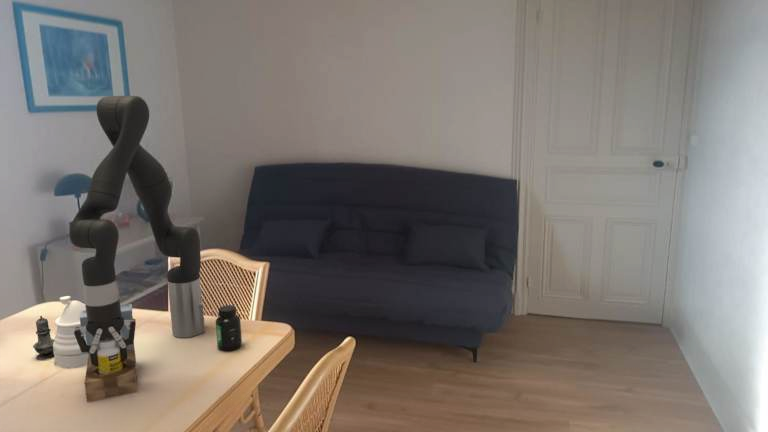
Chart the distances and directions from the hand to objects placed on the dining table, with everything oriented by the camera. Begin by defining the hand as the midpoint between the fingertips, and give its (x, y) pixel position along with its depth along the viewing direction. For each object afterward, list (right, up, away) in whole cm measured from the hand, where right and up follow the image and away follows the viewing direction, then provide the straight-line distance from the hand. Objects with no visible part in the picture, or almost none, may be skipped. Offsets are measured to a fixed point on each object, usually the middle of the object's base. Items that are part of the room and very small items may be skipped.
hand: (110, 362), depth 141 cm
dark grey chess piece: (-27, -3, +18) cm, 32 cm away
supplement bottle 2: (+24, -2, +23) cm, 33 cm away
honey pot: (-16, -3, +17) cm, 24 cm away
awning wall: (-4, -5, +9) cm, 11 cm away
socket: (-1, -6, +3) cm, 7 cm away
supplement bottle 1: (0, -4, +1) cm, 4 cm away
